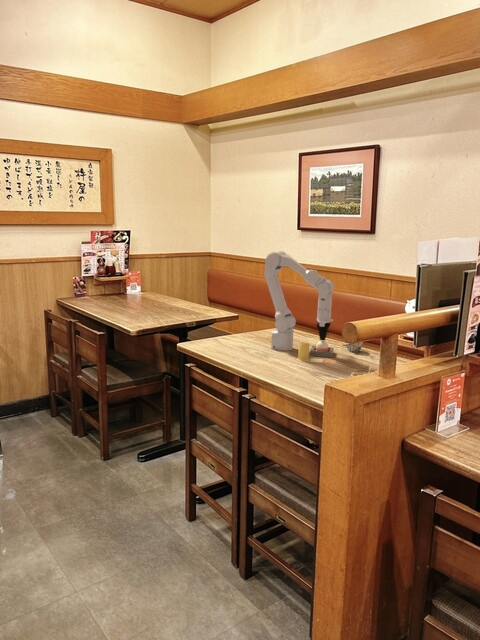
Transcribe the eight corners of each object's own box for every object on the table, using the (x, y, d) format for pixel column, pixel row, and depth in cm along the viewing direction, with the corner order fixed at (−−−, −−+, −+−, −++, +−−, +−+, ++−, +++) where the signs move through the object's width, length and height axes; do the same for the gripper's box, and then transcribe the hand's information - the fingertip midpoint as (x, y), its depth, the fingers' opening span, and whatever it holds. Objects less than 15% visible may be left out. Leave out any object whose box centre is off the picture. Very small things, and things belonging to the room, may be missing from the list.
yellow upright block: (297, 360, 207) (297, 344, 205) (298, 357, 211) (299, 342, 210) (307, 361, 206) (308, 345, 204) (309, 358, 210) (310, 343, 208)
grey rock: (356, 361, 224) (365, 347, 216) (339, 353, 225) (347, 339, 217) (360, 348, 230) (369, 334, 223) (343, 340, 231) (351, 326, 223)
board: (295, 364, 204) (295, 361, 204) (302, 350, 225) (303, 348, 225) (337, 368, 200) (337, 365, 200) (341, 354, 221) (341, 352, 221)
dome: (314, 353, 215) (315, 341, 214) (316, 350, 220) (316, 339, 219) (327, 354, 213) (328, 343, 212) (329, 351, 219) (329, 340, 218)
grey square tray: (310, 356, 214) (310, 350, 213) (312, 350, 222) (312, 345, 222) (331, 358, 212) (331, 352, 211) (333, 352, 220) (333, 347, 220)
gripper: (332, 312, 205) (330, 344, 208) (335, 306, 219) (333, 337, 222) (315, 311, 207) (313, 343, 210) (319, 305, 221) (317, 335, 223)
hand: (322, 339), depth 216 cm, fingers closed
